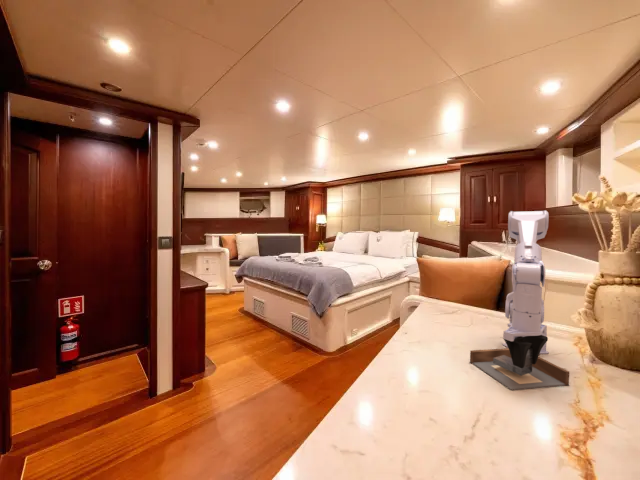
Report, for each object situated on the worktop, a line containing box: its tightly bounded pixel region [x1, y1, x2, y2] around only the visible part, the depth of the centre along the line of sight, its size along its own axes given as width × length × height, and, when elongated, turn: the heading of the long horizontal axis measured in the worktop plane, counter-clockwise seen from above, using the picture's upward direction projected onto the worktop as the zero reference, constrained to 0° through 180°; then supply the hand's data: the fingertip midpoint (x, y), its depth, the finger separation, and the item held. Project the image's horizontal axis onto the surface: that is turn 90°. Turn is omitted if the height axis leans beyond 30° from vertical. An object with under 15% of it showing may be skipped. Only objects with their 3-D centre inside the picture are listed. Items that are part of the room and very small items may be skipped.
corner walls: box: [469, 347, 570, 386], centre depth 73 cm, size 16×14×3 cm
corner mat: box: [469, 361, 570, 391], centre depth 73 cm, size 16×14×1 cm
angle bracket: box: [493, 347, 533, 376], centre depth 72 cm, size 7×4×6 cm, turn 24°
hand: (524, 364), depth 69 cm, fingers closed on angle bracket, 4 cm apart
